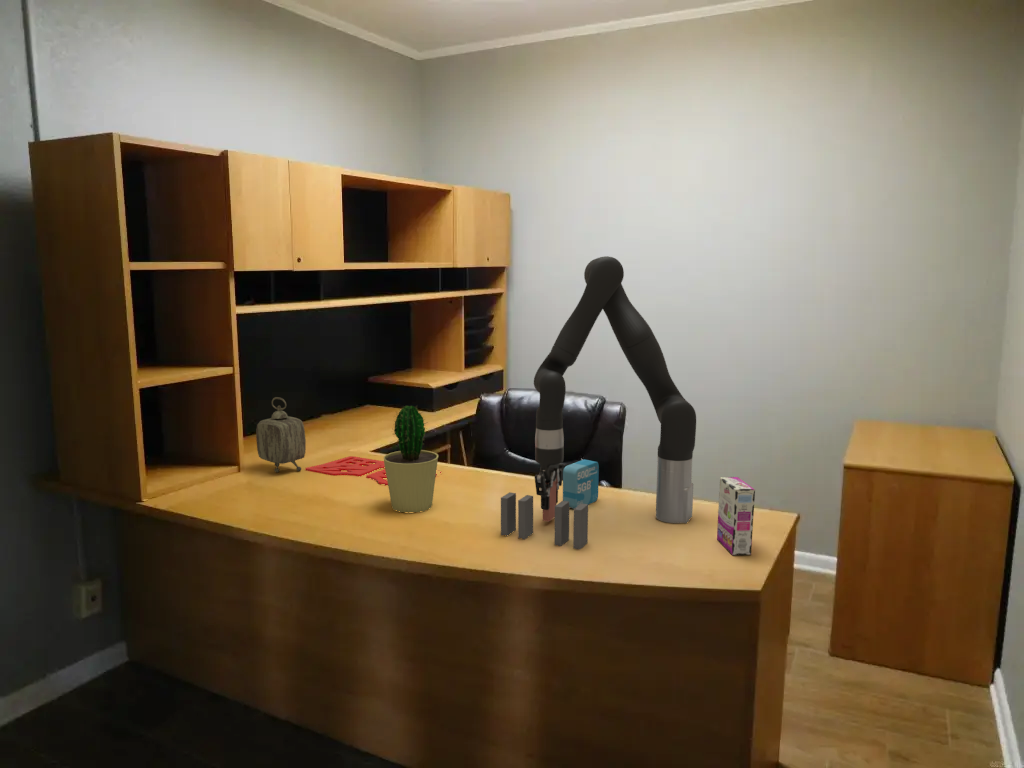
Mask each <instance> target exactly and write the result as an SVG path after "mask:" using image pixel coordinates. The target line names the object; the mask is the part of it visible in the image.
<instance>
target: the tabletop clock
mask: <svg viewBox="0 0 1024 768" xmlns="http://www.w3.org/2000/svg"><path fill="white" fill-rule="evenodd" d="M275 400H280V401H282V402H283V403H284V407H281V405H277V406H275V405H274V401H275ZM271 406H272V407H273V408H274V409H275V411H274V412H273V413H272V414H271V417H270V418H266V419H262V420H260V421H259V422H258V423H256V429H255V430H256V431H255V432H256V433H255V434H256V438H255V440H256V450H257V454H258V457H259V458H260V459H262V460H265V461H267V462H269V463H273V464H274V466H275V468H274V469H273V470H274V473H279V472H280V468H279V467H280V464H281V465H285V464H288V463H291V464H293V465H294V466H295V467H296V471H297V472H301V471H302V467H301V466H299V465H298V464H297V462H296V461H299V460H302V459H304V458H305V456H306V446H307V444H306V443H307V441H306V430H305V426H304V422H303V421H302V420H301V419H300V418H297V417H293V416H289V415H288V413H287V412H286V411H284V410H286V408H287V402H286V400H285V399H284V398H283V397H278V396H275V397H273V398H272V400H271Z"/></svg>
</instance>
